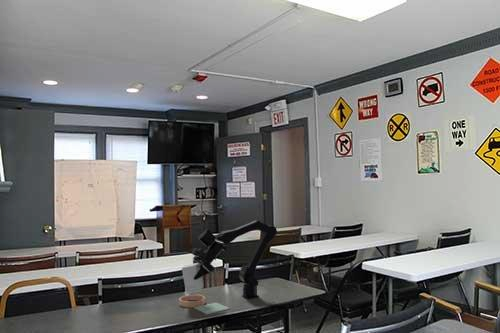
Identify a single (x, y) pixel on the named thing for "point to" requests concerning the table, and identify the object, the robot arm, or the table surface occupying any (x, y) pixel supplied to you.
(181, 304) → the terracotta ring
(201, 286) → the supplement box
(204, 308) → the sage mat
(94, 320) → the table surface
